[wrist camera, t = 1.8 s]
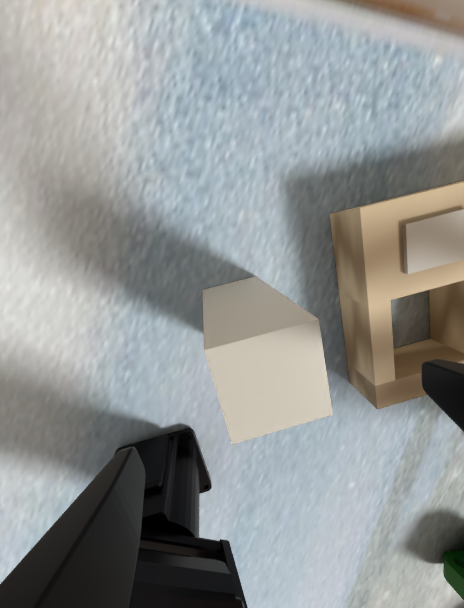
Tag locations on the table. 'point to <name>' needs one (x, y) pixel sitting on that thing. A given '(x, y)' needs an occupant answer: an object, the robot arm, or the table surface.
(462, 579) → the clamp
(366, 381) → the socket board
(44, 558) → the robot arm
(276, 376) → the plug
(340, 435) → the table surface
